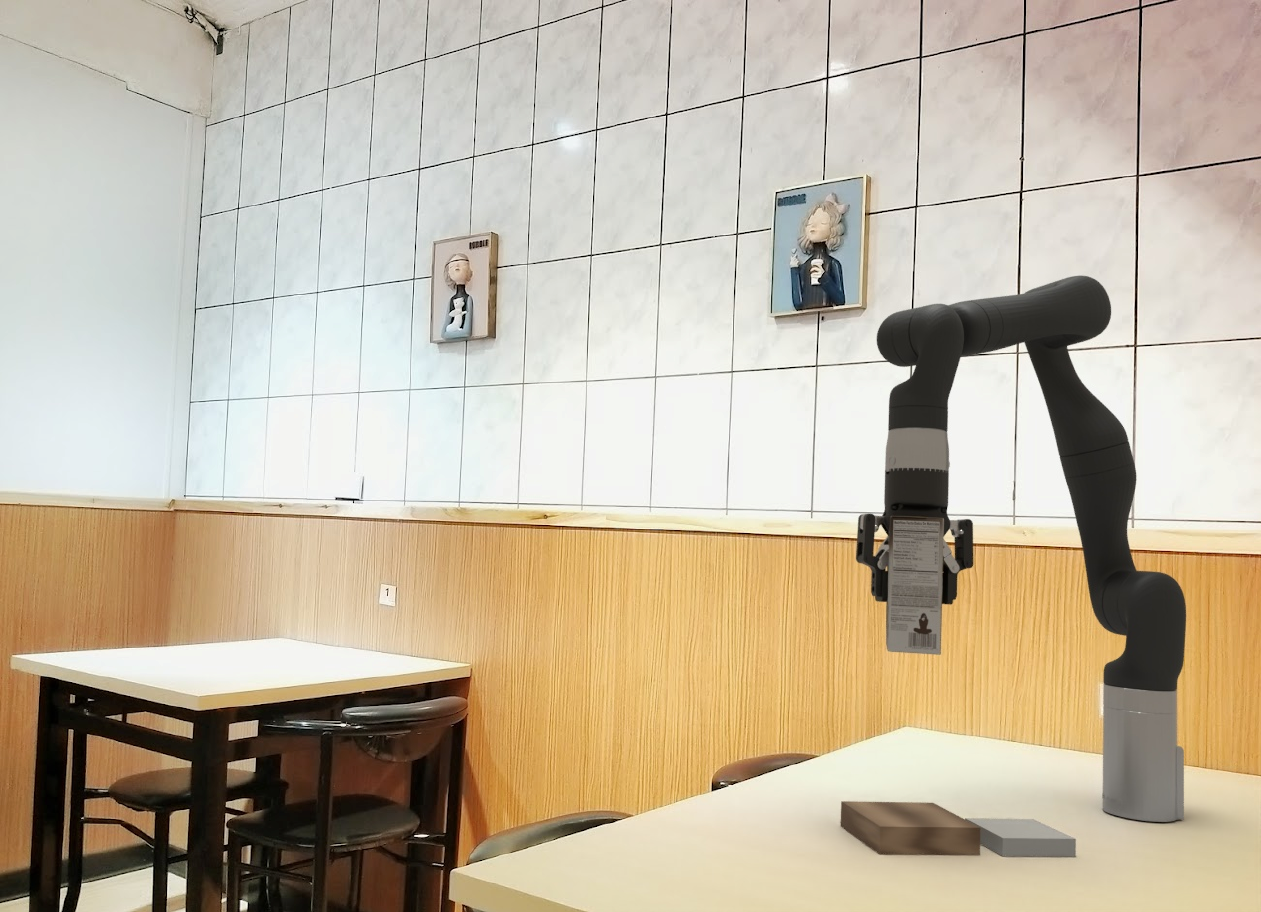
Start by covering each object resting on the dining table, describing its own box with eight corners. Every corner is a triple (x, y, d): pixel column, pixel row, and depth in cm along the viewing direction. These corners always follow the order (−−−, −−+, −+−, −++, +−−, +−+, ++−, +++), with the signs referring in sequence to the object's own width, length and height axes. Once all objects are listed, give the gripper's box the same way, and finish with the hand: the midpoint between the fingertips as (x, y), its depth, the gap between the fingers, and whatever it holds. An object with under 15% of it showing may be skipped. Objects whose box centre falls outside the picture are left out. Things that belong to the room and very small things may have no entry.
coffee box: (884, 646, 132) (887, 518, 133) (937, 649, 130) (939, 520, 132) (886, 651, 123) (889, 514, 124) (943, 655, 122) (945, 516, 123)
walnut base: (932, 827, 131) (933, 802, 131) (979, 854, 119) (980, 827, 119) (840, 826, 129) (841, 801, 129) (879, 854, 117) (880, 826, 117)
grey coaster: (1033, 835, 129) (1033, 819, 129) (1075, 856, 120) (1075, 838, 121) (964, 835, 128) (965, 818, 128) (1002, 856, 119) (1002, 838, 119)
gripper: (957, 474, 133) (954, 603, 132) (849, 467, 131) (845, 599, 129) (986, 469, 126) (984, 607, 124) (873, 462, 124) (869, 602, 122)
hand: (913, 602), depth 127 cm, fingers closed on coffee box, 8 cm apart
